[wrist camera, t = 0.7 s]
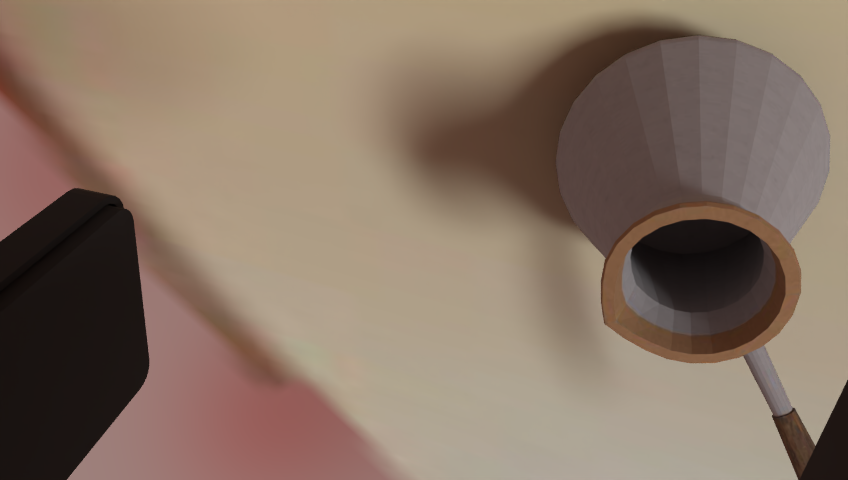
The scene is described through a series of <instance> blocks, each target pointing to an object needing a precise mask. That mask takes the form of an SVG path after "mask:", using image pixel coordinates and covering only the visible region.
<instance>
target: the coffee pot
mask: <svg viewBox="0 0 848 480" xmlns="http://www.w3.org/2000/svg"><path fill="white" fill-rule="evenodd" d="M829 163H830V134H829V130H828V127H827V124H826V120H825V117H824V114H823V111H822V107H821V104H820V103H819V101H818V100H817V98H816V97H815V96H814V94H813V93H812V91H811V90H810V88H809V87H808V86H807V84H806V83H805V81H804V80H803V78H802V77H801V76H800V75H799V74H798V73H796V72H795V71H794V70H792V69H791V68H790V67H788V66H787V65H786V64H784V63H783V62H782V61H781V60H779V59H778V58H777V57H775V56H774V55H773V54H771V53H769V52H766V51H764V50H761V49H759V48H756V47H754V46H751V45H749V44H746V43H743V42H741V41H738V40H736V39H727V38H718V37H709V36H701V35H696V36H688V37H681V38H674V39H666V40H660V41H657V42H655V43H652V44H650V45H647V46H645V47H642V48H639V49H637V50H634V51H632V52H629V53H627V54H625V55H623V56H622V57H621V58H619V59H618V60H616V61H615V62H614V63H612V64H611V65H609V66H608V67H607V68H605V69H604V70H602V71H601V72H600V73H598V74H597V75H596V76H595V77H594V78H593V79H592V80H591V82H590V83H589V84H588V85H587V86H586V88H585V89H584V90H583V91H582V92H581V94H580V95H579V96H578V97H577V98H576V100H575V101H574V102H573V104H572V106H571V108H570V111H569V113H568V115H567V117H566V119H565V122H564V124H563V126H562V128H561V130H560V135H559V142H558V149H557V155H556V168H557V175H558V182H559V189H560V194H561V196H562V198H563V200H564V203H565V205H566V207H567V209H568V211H569V214H570V216H571V218H572V220H573V221H574V223H575V224H576V225H577V226H578V227H579V228H580V230H581V231H582V232H583V233H584V234H585V236H586V237H587V238H588V239H589V240H590V242H591V243H592V244H593V245H594V246H595V247H596V248H597V249H598V250H599V251H600V252H601V253H602V254H603V256H604V257H605V258H606V259H605V263H604V268H603V273H602V278H601V305H602V312H603V318H604V323H605V325H607V326H608V327H610V328H611V329H612V330H614V331H615V332H616V333H618V334H619V335H621V336H622V337H623V338H625V339H627V340H628V341H630V342H632V343H634V344H635V345H637V346H639V347H641V348H643V349H644V350H646V351H649V352H651V353H654V354H656V355H659V356H661V357H664V358H666V359H670V360H676V361H681V362H687V363H716V362H721V361H725V360H730V359H734V358H739V357H741V356H744V358H745V360H746V362H747V364H748V366H749V368H750V370H751V372H752V374H753V376H754V378H755V380H756V382H757V384H758V386H759V388H760V390H761V392H762V394H763V395H764V397H765V399H766V401H767V403H768V405H769V407H770V409H771V411H772V413H773V415H772V417H773V420H774V422H775V425H776V427H777V429H778V432H779V434H780V437H781V439H782V441H783V444H784V446H785V449H786V451H787V453H788V456H789V458H790V460H791V463H792V465H793V468H794V470H795V472H796V475H797V477H798V480H799V479H800V477H801V475H802V473H803V471H804V469H805V467H806V465H807V463H808V461H809V459H810V457H811V455H812V453H813V450H814V448H815V445H814V443H813V441H812V439H811V437H810V436H809V434H808V432H807V430H806V428H805V426H804V425H803V423H802V421H801V419H800V417H799V415H798V414H797V412H796V410H795V408H792V406H791V404H790V402H789V399H788V397H787V395H786V393H785V390H784V388H783V386H782V384H781V382H780V379H779V377H778V375H777V373H776V370H775V368H774V366H773V364H772V362H771V359H770V357H769V355H768V353H767V350H766V348H765V346H764V345H765V344H766V343H767V342H769V341H770V340H771V339H772V338H774V337H775V336H776V335H777V334H779V333H780V331H781V330H782V329H783V327H784V326H785V325H786V323H787V322H788V321H789V319H790V318H791V317H792V315H793V313H794V310H795V308H796V305H797V302H798V299H799V296H800V293H801V269H800V266H799V263H798V260H797V257H796V254H795V251H794V249H793V248H792V246H791V245H790V243H791V241H792V240H793V238H794V237H795V235H796V234H797V233H798V231H799V230H800V228H801V227H802V225H803V224H804V223H805V221H806V220H807V218H808V217H809V215H810V214H811V212H812V211H813V210H814V208H815V207H816V205H817V204H818V202H819V200H820V197H821V194H822V191H823V188H824V185H825V182H826V179H827V176H828V173H829Z"/></svg>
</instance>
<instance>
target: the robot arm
mask: <svg viewBox="0 0 848 480" xmlns="http://www.w3.org/2000/svg"><path fill="white" fill-rule="evenodd" d="M148 369H149V353H148V345H147V336H146V327H145V318H144V309H143V300H142V291H141V282H140V273H139V264H138V255H137V246H136V237H135V229H134V220H133V216H132V214H131V212H130V211H129V210H127V209H124V207H123V204H122V202H121V200H120V199H119V198H117V197H116V196H113V195H108V194H103V193H99V192H94V191H89V190H84V189H79V188H74V189H72V190H70V191H68V192H66V193H65V194H64V195H62V196H61V197H60V198H58V199H57V200H56V201H54V202H53V203H52V204H50V205H49V206H48V207H46V208H45V209H44V210H42V211H41V212H40V213H38V214H37V215H35V216H34V217H33V218H32V219H30V220H29V221H27V222H26V223H25V224H23V225H22V226H21V227H20V228H18V229H17V230H15V231H14V232H13V233H11V234H10V235H9V236H7V237H6V238H5V239H3V240H2V241H1V242H0V480H67V479H68V477H69V476H70V475H71V474H72V472H73V471H74V470H75V469H76V467H77V466H78V465H79V464H80V463H81V461H82V460H83V459H84V458H85V456H86V455H87V454H88V453H89V451H90V450H91V449H92V448H93V446H94V445H95V444H96V442H97V441H98V440H99V439H100V438H101V437H102V435H103V434H104V433H105V432H106V430H107V429H108V428H109V427H110V425H111V424H112V423H113V422H114V420H115V419H116V418H117V417H118V416H119V414H120V413H121V412H122V411H123V409H124V408H125V407H126V406H127V404H128V403H129V402H130V401H131V399H132V398H133V397H134V396H135V395H136V393H137V392H138V391H139V390H140V388H141V387H142V385H143V384H144V382H145V379H146V377H147V374H148ZM799 480H848V380H847V383H846V385H845V387H844V389H843V391H842V393H841V395H840V397H839V399H838V401H837V403H836V405H835V407H834V409H833V411H832V413H831V415H830V418H829V420H828V422H827V424H826V426H825V428H824V430H823V432H822V434H821V436H820V438H819V440H818V442H817V444H816V446H815V448H814V450H813V453H812V455H811V457H810V459H809V461H808V463H807V465H806V467H805V469H804V471H803V473H802V475H801V477H800V479H799Z"/></svg>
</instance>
